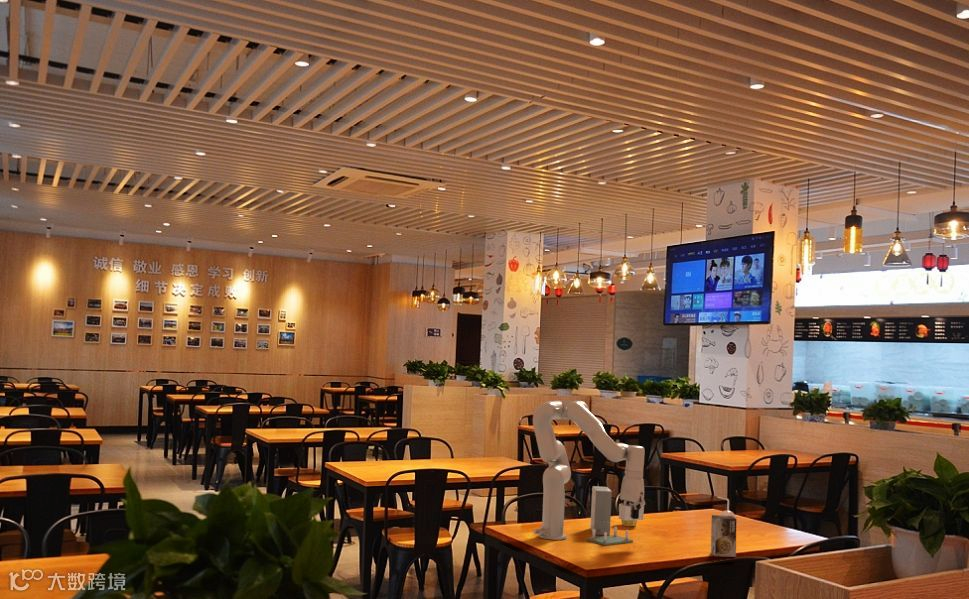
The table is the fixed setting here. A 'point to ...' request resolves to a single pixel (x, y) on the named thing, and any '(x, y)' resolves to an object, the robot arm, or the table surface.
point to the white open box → (629, 512)
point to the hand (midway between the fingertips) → (631, 516)
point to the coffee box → (723, 536)
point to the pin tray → (610, 538)
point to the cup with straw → (727, 512)
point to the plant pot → (628, 521)
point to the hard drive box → (601, 510)
